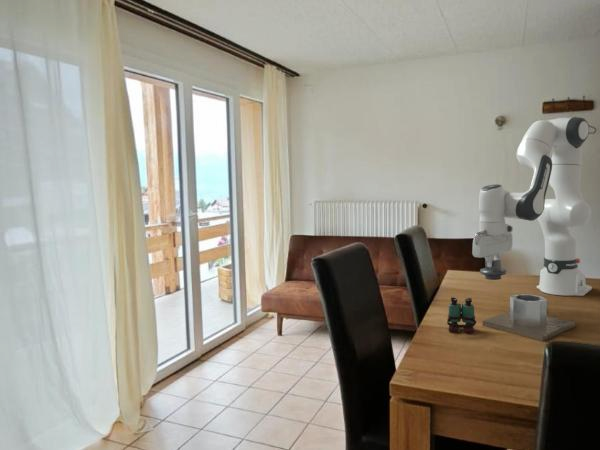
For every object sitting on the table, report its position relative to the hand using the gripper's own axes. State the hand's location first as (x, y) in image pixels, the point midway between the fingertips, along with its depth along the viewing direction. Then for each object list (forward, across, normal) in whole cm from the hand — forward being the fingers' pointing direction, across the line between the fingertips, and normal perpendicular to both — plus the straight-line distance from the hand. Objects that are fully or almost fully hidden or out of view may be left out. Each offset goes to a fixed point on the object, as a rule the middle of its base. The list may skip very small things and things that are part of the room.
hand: (492, 265), depth 166 cm
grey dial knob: (+5, 0, 0) cm, 5 cm away
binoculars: (+16, -29, -7) cm, 34 cm away
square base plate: (+17, -9, -18) cm, 26 cm away
